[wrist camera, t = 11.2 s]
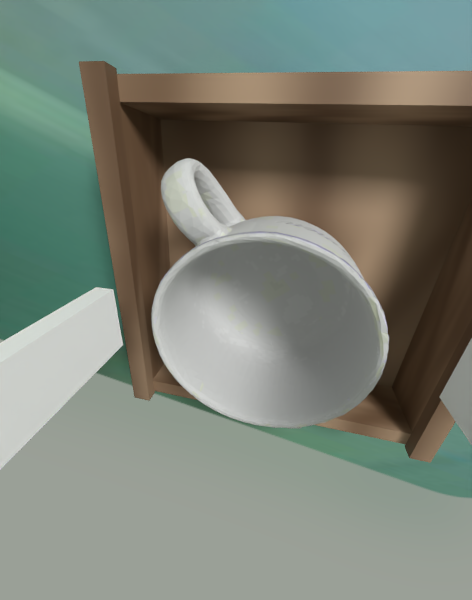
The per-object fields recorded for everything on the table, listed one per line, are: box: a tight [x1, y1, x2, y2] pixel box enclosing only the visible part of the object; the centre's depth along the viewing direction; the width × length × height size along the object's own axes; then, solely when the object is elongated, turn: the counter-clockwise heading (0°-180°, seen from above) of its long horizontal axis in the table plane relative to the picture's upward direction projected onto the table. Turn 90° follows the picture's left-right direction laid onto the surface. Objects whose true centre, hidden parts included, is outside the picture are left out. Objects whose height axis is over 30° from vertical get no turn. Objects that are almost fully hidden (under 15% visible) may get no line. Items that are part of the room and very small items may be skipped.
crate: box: [79, 61, 472, 462], centre depth 16 cm, size 20×19×6 cm
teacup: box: [151, 158, 389, 428], centre depth 15 cm, size 14×11×8 cm
